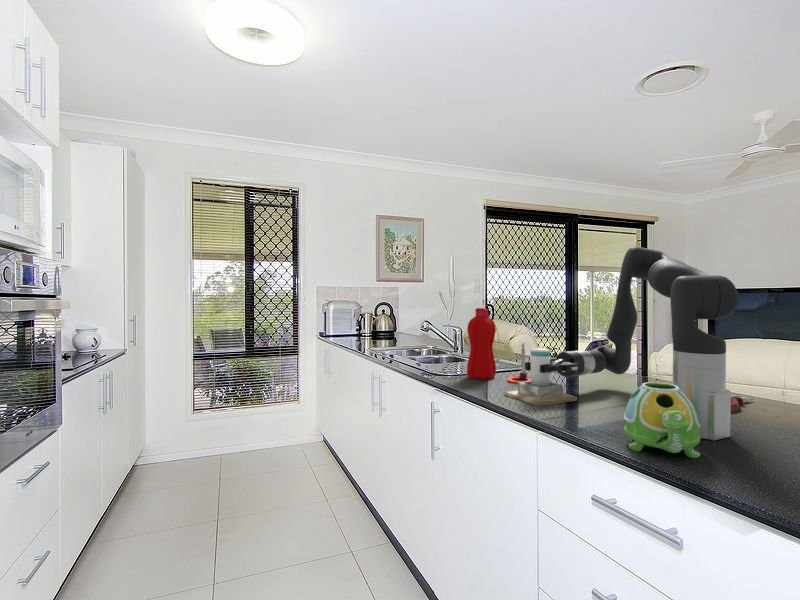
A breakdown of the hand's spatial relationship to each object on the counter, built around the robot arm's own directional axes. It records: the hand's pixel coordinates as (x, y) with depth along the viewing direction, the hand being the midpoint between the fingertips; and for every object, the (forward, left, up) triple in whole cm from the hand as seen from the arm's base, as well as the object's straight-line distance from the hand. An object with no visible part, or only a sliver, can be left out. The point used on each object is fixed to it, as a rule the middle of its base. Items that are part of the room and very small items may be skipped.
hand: (533, 367), depth 122 cm
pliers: (-29, -41, -10) cm, 51 cm away
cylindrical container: (0, -3, -6) cm, 7 cm away
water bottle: (+32, -8, -9) cm, 34 cm away
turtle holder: (-42, +8, -9) cm, 44 cm away
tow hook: (+21, -15, -9) cm, 27 cm away
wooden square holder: (0, -3, -9) cm, 9 cm away
